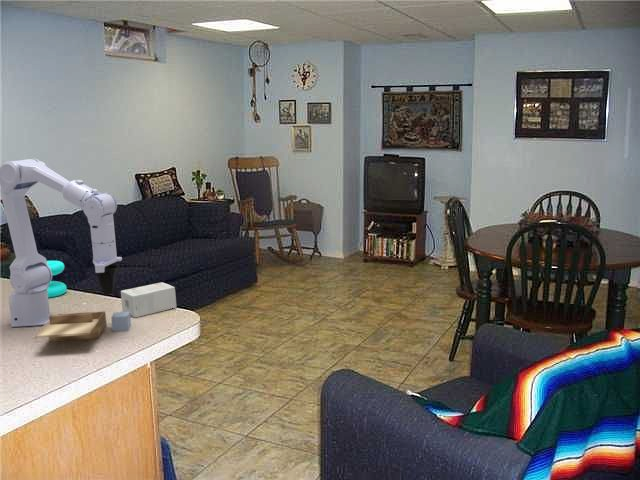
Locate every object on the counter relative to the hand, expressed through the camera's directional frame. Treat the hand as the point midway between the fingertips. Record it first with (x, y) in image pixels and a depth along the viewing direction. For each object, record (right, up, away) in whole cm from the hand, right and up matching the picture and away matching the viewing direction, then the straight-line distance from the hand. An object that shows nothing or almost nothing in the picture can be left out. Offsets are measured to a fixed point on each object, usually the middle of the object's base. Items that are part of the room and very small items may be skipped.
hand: (108, 293), depth 173 cm
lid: (-7, -8, -9) cm, 14 cm away
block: (+2, -10, +3) cm, 11 cm away
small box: (0, -4, +14) cm, 15 cm away
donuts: (-30, -4, +38) cm, 48 cm away
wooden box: (-8, -10, 0) cm, 13 cm away
